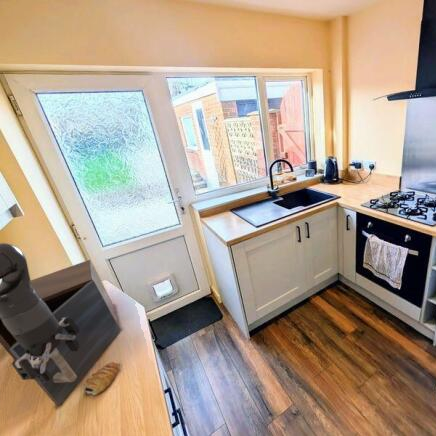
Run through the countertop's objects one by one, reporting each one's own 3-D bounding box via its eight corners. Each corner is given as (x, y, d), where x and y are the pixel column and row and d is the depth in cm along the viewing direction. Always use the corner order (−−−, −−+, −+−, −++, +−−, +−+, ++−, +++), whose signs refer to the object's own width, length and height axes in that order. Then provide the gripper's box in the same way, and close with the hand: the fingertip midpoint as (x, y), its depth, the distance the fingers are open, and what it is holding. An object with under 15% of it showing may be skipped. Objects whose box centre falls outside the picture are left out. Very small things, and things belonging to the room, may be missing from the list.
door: (135, 329, 95) (109, 279, 85) (79, 405, 71) (34, 348, 61) (117, 330, 95) (90, 280, 85) (56, 405, 71) (8, 349, 61)
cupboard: (119, 329, 96) (91, 279, 86) (27, 375, 81) (-18, 322, 71) (114, 305, 109) (89, 259, 99) (34, 341, 94) (-4, 292, 84)
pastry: (109, 364, 82) (104, 356, 80) (125, 367, 81) (121, 359, 79) (82, 393, 74) (76, 385, 72) (100, 397, 72) (94, 389, 71)
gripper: (43, 300, 67) (71, 342, 73) (-17, 347, 54) (24, 392, 60) (69, 298, 66) (95, 340, 73) (15, 345, 53) (52, 391, 60)
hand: (63, 364), depth 67 cm, fingers open, 8 cm apart
